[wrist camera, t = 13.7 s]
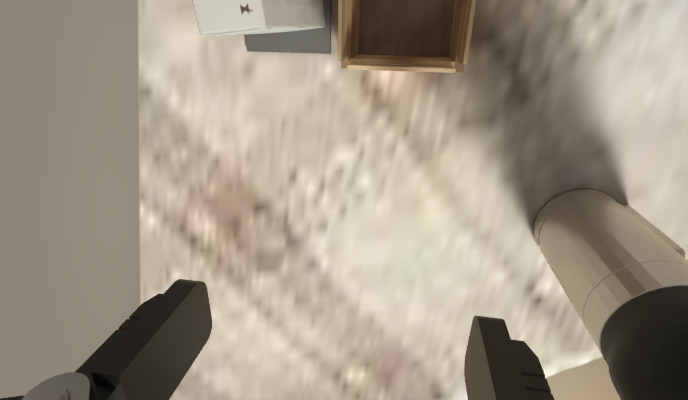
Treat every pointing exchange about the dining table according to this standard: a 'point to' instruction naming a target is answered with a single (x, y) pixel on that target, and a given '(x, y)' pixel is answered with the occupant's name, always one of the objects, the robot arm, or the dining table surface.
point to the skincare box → (257, 16)
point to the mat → (295, 38)
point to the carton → (353, 60)
